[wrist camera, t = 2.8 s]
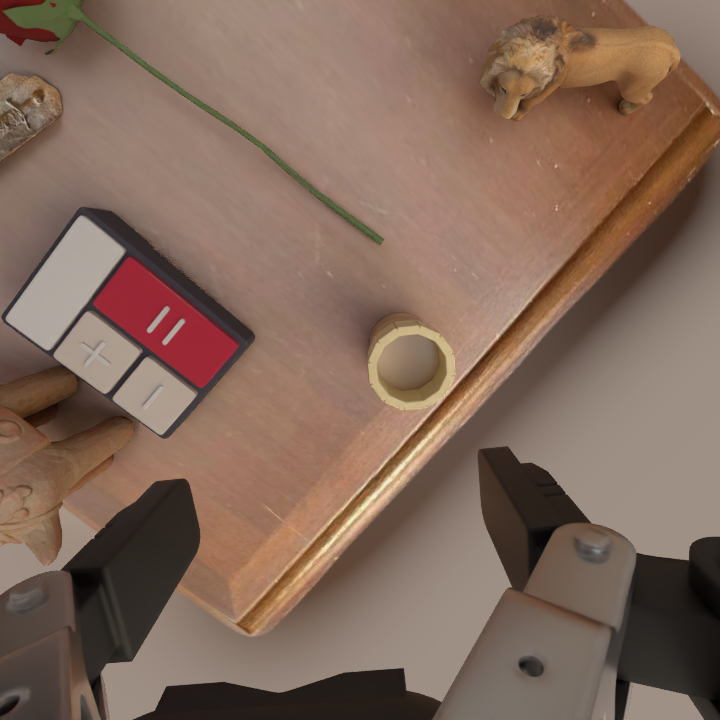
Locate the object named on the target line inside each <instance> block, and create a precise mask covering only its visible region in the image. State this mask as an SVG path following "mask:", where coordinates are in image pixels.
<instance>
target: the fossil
mask: <svg viewBox="0 0 720 720" xmlns="http://www.w3.org/2000/svg"><path fill="white" fill-rule="evenodd" d="M62 112H63V108H62V105H61V99H60V95H59V91H58V90H57V89H56V88H54V87H52V86H51V85H49V84H47V83H46V82H44V81H43V80H42V79H41V78H39V77H38V76H36V75H33V76H32V77H29V78H28V77H24V76H20V75H16V74H11V73H9V74H8V75H7V76H6V77H4V78H3V79H2V80H1V81H0V161H2V160H3V159H4V158H6V157H7V156H9V155H10V154H11V153H13V152H14V151H15V150H16V149H18V148H19V147H21V146H22V145H23V144H25V143H26V142H27V141H28V140H30V139H31V138H32V137H34V136H35V135H37V134H38V133H40V132H41V131H42V130H43V129H45V128H46V127H48V126H49V125H50V124H51V123H53V122H54V121H55V120H56V119H57V118H58V117H59V116H60V115H61V114H62Z"/></svg>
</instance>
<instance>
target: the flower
mask: <svg viewBox="0 0 720 720" xmlns="http://www.w3.org/2000/svg"><path fill="white" fill-rule="evenodd" d="M83 1H84V0H0V33H3V34H6V36H7V37H8V38H9V39H11V40H12V41H14V42H15V43H17V44H18V45H20V46H21V45H22V44H23V42H24V41H25V39H31V40H36V41H41V42H48V41H58V40H60V39H61V40H60V41H59V43H58V44H57V46H56V47H55V48H54V49H53V50H51V51H48V52H46V53H45V54H46V55H47V54H53V53H54V52H55V51H56V50H57V48H58V47H59V46H60V44H61V43H62V42H63V40H64V39H65V38H66V37H67V36H68V35H69V34H70V33H71V32H72V31H73V29H74V27H75V25H76V23H77V21H82V22H84V23H85V24H86V25H88V26H89V27H90V28H92V29H93V30H94V31H96V32H97V33H98V34H100V35H101V36H102V37H104V38H105V39H106V40H108V41H109V42H110V43H112V44H113V45H114V46H116V47H117V48H118V49H119V50H121V51H122V52H123V53H125V54H126V55H127V56H129V57H130V58H131V59H133V60H134V61H135V62H137V63H138V64H139V65H141V66H142V67H143V68H145V69H146V70H147V71H149V72H150V73H151V74H153V75H154V76H155V77H157V78H158V79H160V80H161V81H162V82H164V83H165V84H167V85H168V86H170V87H171V88H173V89H174V90H175V91H177V92H178V93H180V94H181V95H183V96H184V97H186V98H187V99H189V100H190V101H191V102H193V103H194V104H196V105H197V106H199V107H200V108H202V109H203V110H205V111H206V112H208V113H210V114H211V115H213V116H214V117H216V118H217V119H219V120H220V121H222V122H224V123H225V124H227V125H228V126H230V127H231V128H233V129H234V130H236V131H237V132H238V133H240V134H241V135H243V136H244V137H245V138H247V139H248V140H250V141H251V142H252V143H254V144H255V145H257V146H258V147H259V148H260V149H262V150H263V151H264V152H265V153H266V154H267V155H268V156H269V157H270V158H272V159H273V160H274V161H275V162H276V163H277V164H278V165H279V166H280V167H281V168H282V169H284V170H285V171H286V172H287V173H288V174H289V175H290V176H292V177H293V178H294V179H295V180H297V181H298V182H299V183H300V184H301V185H303V186H304V187H305V188H306V189H308V190H309V191H310V192H311V193H312V194H314V195H315V196H316V197H317V198H318V199H320V200H321V201H322V202H323V203H324V204H326V205H327V206H328V207H330V208H331V209H332V210H334V211H335V212H336V213H338V214H339V215H341V216H342V217H343V218H345V219H346V220H347V221H349V222H350V223H351V224H353V225H354V226H356V227H357V228H358V229H360V230H361V231H362V232H364V233H365V234H366V235H368V236H369V237H371V238H372V239H373V240H375V241H376V242H377V243H379V244H381V243H382V242H383V240H384V239H383V238H382V237H380V236H379V235H377V234H376V233H375V232H373V231H372V230H371V229H369V228H368V227H367V226H365V225H364V224H363V223H361V222H360V221H358V220H357V219H356V218H354V217H353V216H352V215H350V214H349V213H348V212H346V211H345V210H344V209H342V208H341V207H339V206H338V205H337V204H335V203H334V202H333V201H331V200H330V199H329V198H327V197H326V196H324V195H323V194H322V193H320V192H319V191H318V190H317V189H316V188H314V187H313V186H312V185H311V184H310V183H308V182H307V181H306V180H305V179H303V178H302V177H301V176H300V175H299V174H297V173H296V172H295V171H294V170H293V169H291V168H290V167H289V166H288V165H287V164H286V163H284V162H283V161H282V160H281V159H280V158H279V157H278V156H277V155H276V154H275V153H274V152H272V151H271V150H270V149H269V148H268V147H266V146H265V145H264V144H262V143H261V142H260V141H258V140H257V139H256V138H254V137H253V136H252V135H250V134H249V133H248V132H246V131H245V130H244V129H242V128H241V127H240V126H238V125H237V124H235V123H233V122H232V121H230V120H229V119H227V118H226V117H224V116H223V115H221V114H220V113H218V112H217V111H215V110H213V109H212V108H210V107H209V106H207V105H206V104H204V103H203V102H201V101H200V100H198V99H197V98H195V97H194V96H192V95H190V94H189V93H187V92H186V91H185V90H183V89H182V88H180V87H179V86H178V85H176V84H175V83H173V82H172V81H171V80H169V79H168V78H167V77H165V76H164V75H162V74H161V73H160V72H158V71H157V70H156V69H154V68H153V67H151V66H150V65H149V64H147V63H146V62H145V61H143V60H142V59H141V58H139V57H138V56H137V55H135V54H134V53H133V52H132V51H130V50H129V49H128V48H126V47H125V46H124V45H122V44H121V43H120V42H119V41H117V40H116V39H115V38H113V37H112V36H111V35H109V34H108V33H107V32H106V31H104V30H103V29H102V28H100V27H99V26H98V25H96V24H95V23H94V22H93V21H91V20H90V19H89V18H87V17H86V16H85V15H84V13H83V12H82V10H81V4H82V3H83Z"/></svg>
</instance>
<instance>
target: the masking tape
mask: <svg viewBox="0 0 720 720" xmlns="http://www.w3.org/2000/svg"><path fill="white" fill-rule="evenodd" d="M416 334H419V335H421V336H423V337H425V338H428V339H430V340H432V341H434V343H435V344H436V346H437V347H438V349H439V363H440V365H439V367H438V369H437V371H436V373H435V375H434V377H433V379H432V380H431V381H430V382H428V383H427V384H425V385H424V386H422V387H421V388H420V389H415V390H406V391H401V390H399V389H396V388H394V387H392V386H389V385H387V384H386V383H385V381H384V380H383V379H382V377H381V376H380V375H379V373H378V371H377V362H378V360H379V357H380V355H381V353H382V351H383V349H384V347H385V346H386V345H388V344H389V343H391V342H392V341H394V340H395V339H396V338H398V337H399V336H406V335H416ZM367 354H368V355H367V365H368V374H369V383H370V385H371V387H372V388H373V390H374V391H375V392H376V394H377V395H378V396H379V397H380V399H381V400H382V401H384V403H386V404H389V405H391V406H393V407H396V408H398V409H400V410H405V411H408V410H417V409H425V408H426V407H427V408H428V407H430V406H431V405H432V404H434V403H435V402H437V401H438V400H440V399H441V398H443V397H444V394H445V395H446V394H447V392H448V390H449V388H450V386H451V384H452V382H453V380H454V378H455V376H454V375H455V374H456V370H455V355H454V353H453V350H452V349H451V347H450V346H449V344H448V343H447V341H446V340H445V339H444V337H443V336H442V335H441V334H440V333H439V332H438V331H437V330H436V329H434V328H433V327H431V326H429V325H427V324H424V323H422V322H420V321H418V320H405V321H395V322H394V323H391V324H389V325H388V326H387V327H385V328H384V329H383V330H381V331H380V332H378V333H377V336H375V337H374V339H373V341H372V343H371V346H370V348H369V350H368V352H367Z"/></svg>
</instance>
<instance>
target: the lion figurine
mask: <svg viewBox="0 0 720 720" xmlns="http://www.w3.org/2000/svg"><path fill="white" fill-rule="evenodd" d="M679 61H680V52H679V50H678V49H677V47H676V46H675V45H674V39H673V37H672V36H671V35H670V34H669V33H668V32H666V31H665V30H662V29H660V28H658V27H655V26H641V27H637V28H629V29H608V28H574V26H573V25H568V24H567V22H566V20H564V19H562V20H558V19H557V17H553V16H547V17H541V16H537V17H536V18H530V19H525V18H524V19H522V20H521V22H520V23H516V24H515V25H514V26H510V27H509V28H508V29H506V30H503V31H502V32H501V34H500V35H499V36H498V37H497V40H496V41H495V42H494V44H493V45H492V46H491V47H490V48H489V50H488V53H487V54H486V63H485V65H484V67H483V71H482V73H481V77H480V83H481V85H482V87H483V88H484V89H486V92H487V93H490V94H491V95H493V96H494V97H495V102H494V111H495V113H497V114H498V115H500V116H501V117H503V118H505V119H509V118H511V117H512V118H513V119H515V120H516V121H519V120H520V119H521V118H522V117H523V116H525V115H526V114H527V113H528V112H529V111H530V110H531V108H532V107H533V106H534V105H537V104H539V103H540V102H542V101H543V100H544V99H545V98H546V97H547V96H548V95H549V94H550V93H552V92H553V91H554V90H555V89H557V88H558V87H564V88H573V87H585V86H592V85H597V84H601V83H604V82H607V81H611V80H613V81H616V82H617V83H618V85H619V90H620V93H621V95H622V97H623V98H624V99H623V100H622V101H621V103H620V104H619V108H620V112H621V113H622V114H624V115H628V114H631V113H633V112H634V111H636V110H637V109H639V108H640V107H641V106H643V105H645V104H647V103H648V102H649V101H650V100H651V98H652V96H653V93H652V92H650V91H651V89H652V88H653V87H654V86H656V85H657V84H658V83H659V82H660V81H661V80H662V79H664V78H665V77H667V76H668V75H669V74H670V73H671V72H672V71H673V70H674V69H675V68H676V67H677V66H678V64H679Z"/></svg>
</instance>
